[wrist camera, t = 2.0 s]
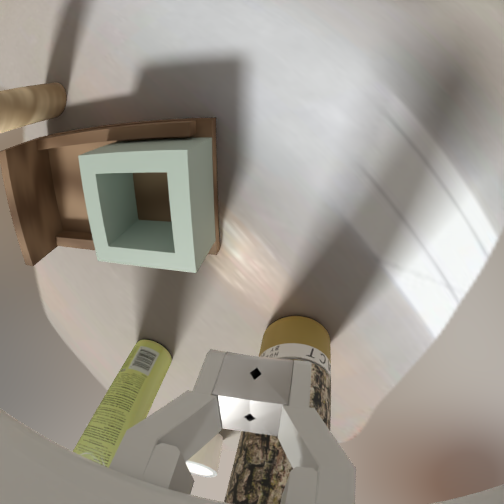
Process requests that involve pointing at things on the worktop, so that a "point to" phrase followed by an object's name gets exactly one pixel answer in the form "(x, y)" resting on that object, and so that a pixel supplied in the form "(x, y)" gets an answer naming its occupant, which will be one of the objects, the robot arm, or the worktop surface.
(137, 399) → the tube
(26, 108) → the dowel
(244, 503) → the paper tube
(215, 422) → the robot arm
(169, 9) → the worktop surface
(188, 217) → the socket block
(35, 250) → the wooden tray
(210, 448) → the white short cylinder
